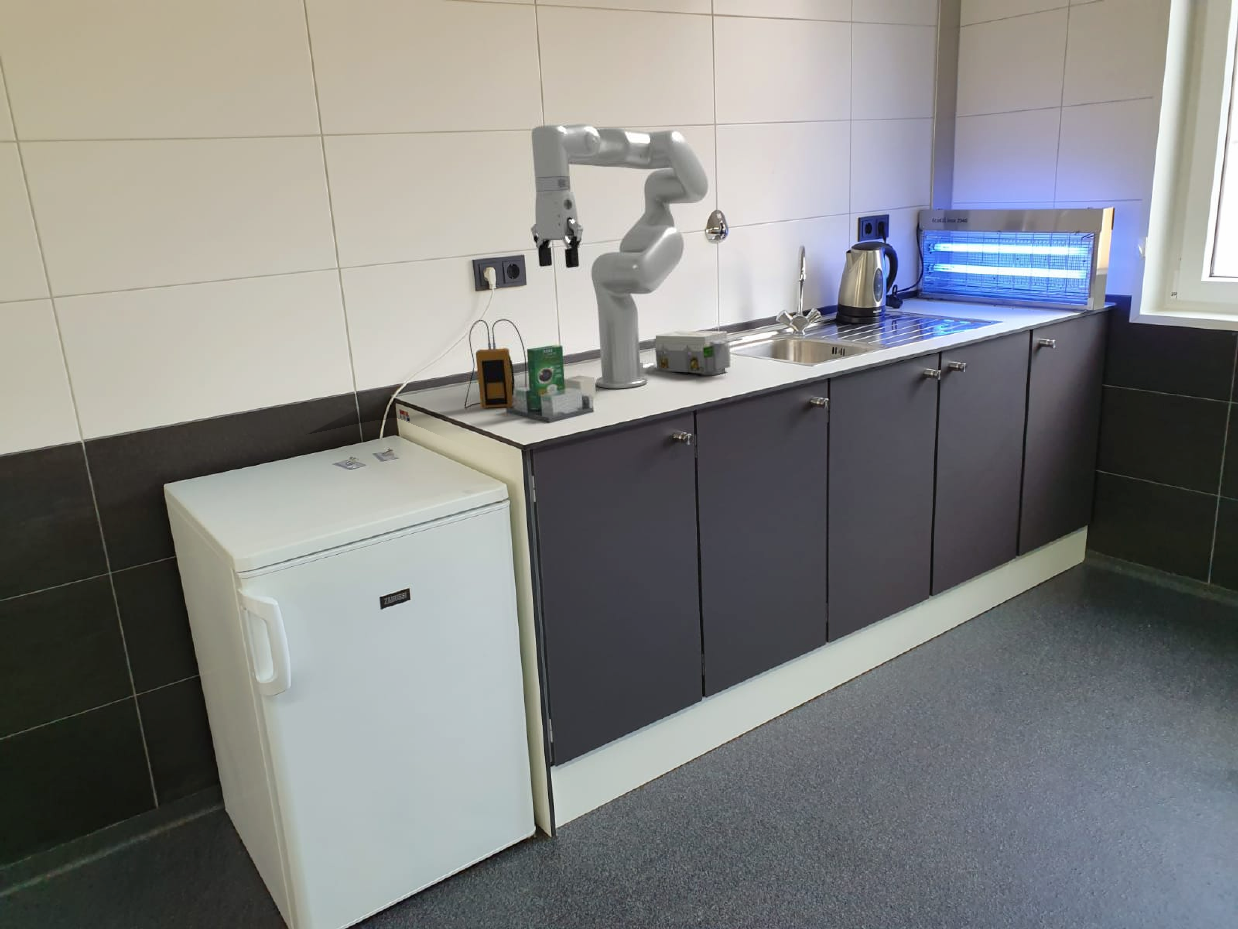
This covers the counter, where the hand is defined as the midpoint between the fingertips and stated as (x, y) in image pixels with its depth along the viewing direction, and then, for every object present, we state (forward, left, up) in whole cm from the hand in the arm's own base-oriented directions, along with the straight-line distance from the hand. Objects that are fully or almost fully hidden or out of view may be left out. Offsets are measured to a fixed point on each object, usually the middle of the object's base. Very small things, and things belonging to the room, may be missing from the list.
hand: (558, 266), depth 204 cm
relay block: (-2, +2, -30) cm, 31 cm away
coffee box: (+10, +6, -29) cm, 31 cm away
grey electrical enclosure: (-41, 0, -31) cm, 51 cm away
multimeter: (+12, -11, -31) cm, 35 cm away
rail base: (+10, +6, -30) cm, 32 cm away
